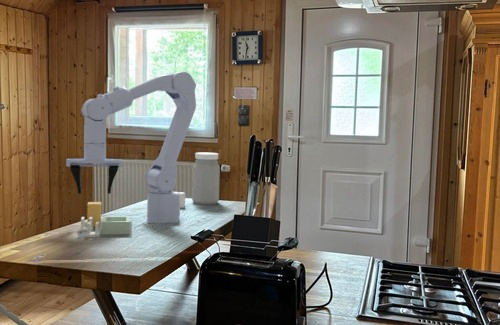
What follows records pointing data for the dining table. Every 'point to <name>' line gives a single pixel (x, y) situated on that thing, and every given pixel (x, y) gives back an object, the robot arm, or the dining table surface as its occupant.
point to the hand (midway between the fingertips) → (94, 193)
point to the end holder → (115, 225)
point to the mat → (83, 234)
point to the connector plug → (94, 212)
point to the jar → (206, 179)
